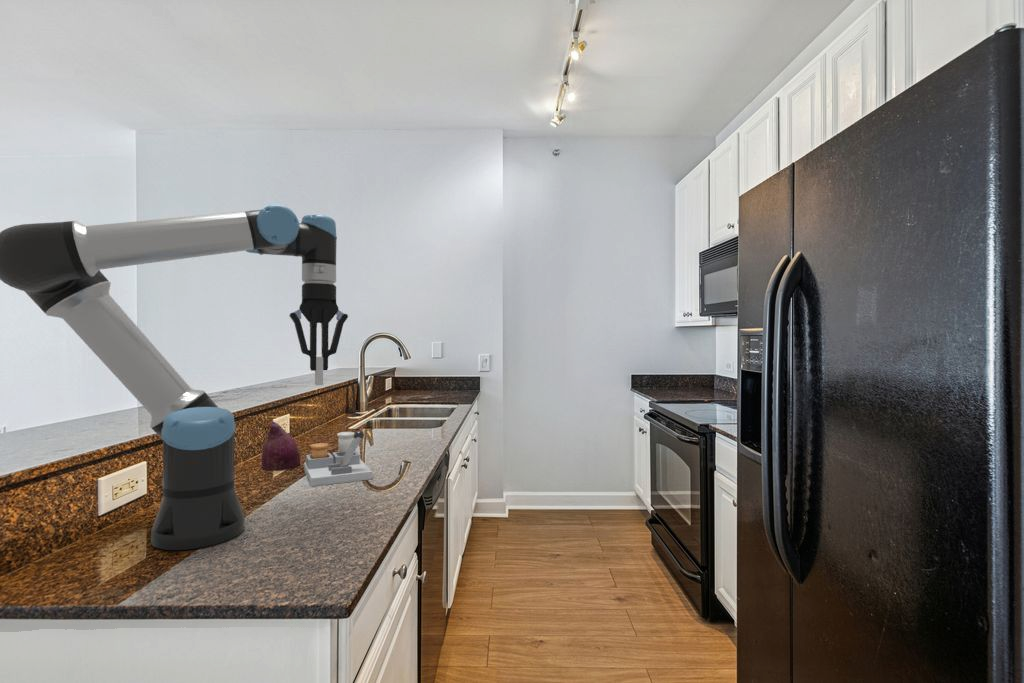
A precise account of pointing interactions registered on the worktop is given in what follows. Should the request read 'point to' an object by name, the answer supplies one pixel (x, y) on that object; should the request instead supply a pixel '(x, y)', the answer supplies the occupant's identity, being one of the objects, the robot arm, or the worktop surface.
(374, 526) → the worktop surface
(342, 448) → the plunger white
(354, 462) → the panel
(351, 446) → the lever
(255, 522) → the worktop surface
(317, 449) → the plunger orange
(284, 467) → the vegetable
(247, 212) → the robot arm
